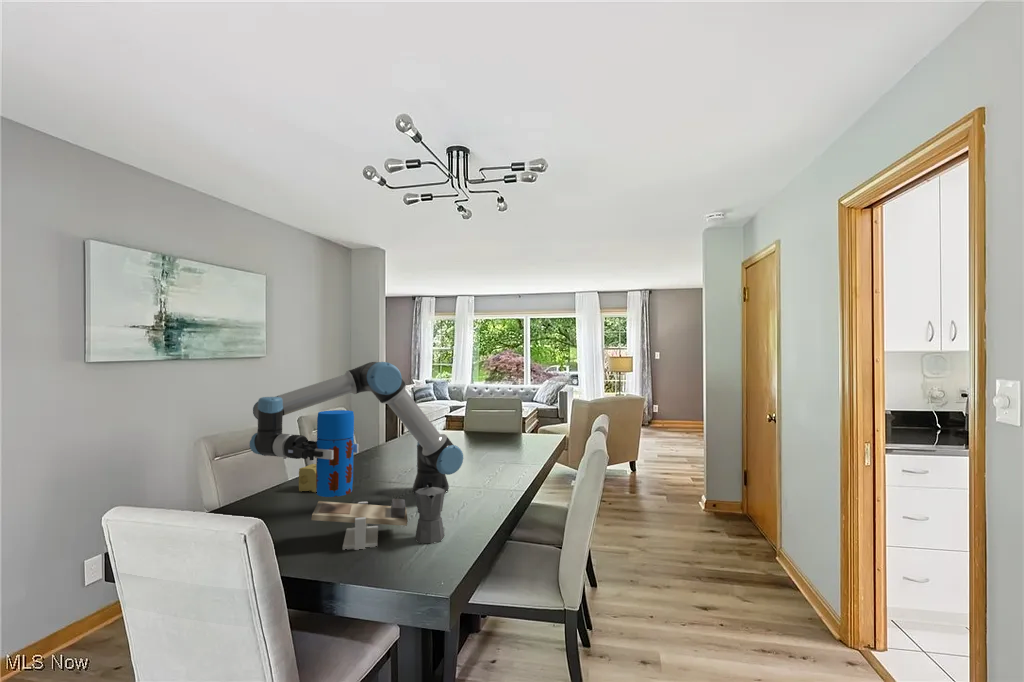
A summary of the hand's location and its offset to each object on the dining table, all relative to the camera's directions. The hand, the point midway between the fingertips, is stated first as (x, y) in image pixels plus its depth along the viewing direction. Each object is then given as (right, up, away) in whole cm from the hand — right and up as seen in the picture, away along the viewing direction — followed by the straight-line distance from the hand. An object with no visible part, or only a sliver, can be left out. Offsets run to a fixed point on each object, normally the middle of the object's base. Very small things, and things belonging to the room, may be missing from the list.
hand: (345, 451), depth 154 cm
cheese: (-33, -30, +60) cm, 75 cm away
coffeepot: (+25, -28, +4) cm, 38 cm away
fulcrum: (+4, -28, +3) cm, 29 cm away
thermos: (-4, -13, +1) cm, 14 cm away
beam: (+4, -20, +3) cm, 21 cm away
